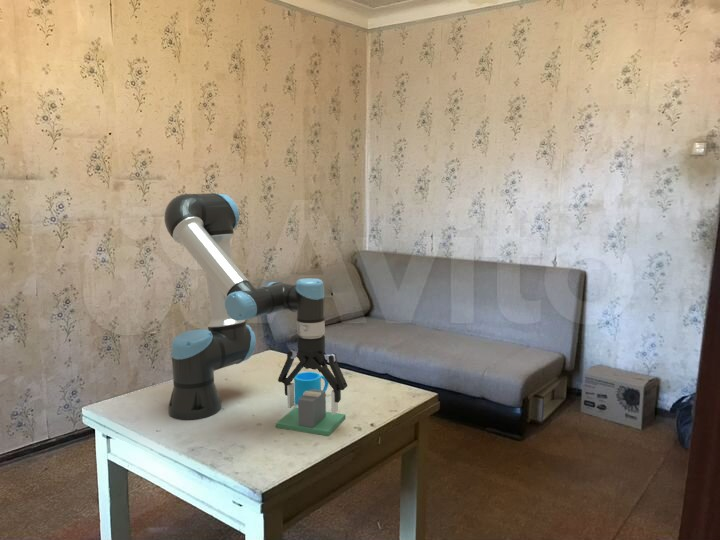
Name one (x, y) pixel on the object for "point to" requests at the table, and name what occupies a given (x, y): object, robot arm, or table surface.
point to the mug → (307, 383)
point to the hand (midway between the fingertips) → (312, 409)
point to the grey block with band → (312, 408)
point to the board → (321, 428)
